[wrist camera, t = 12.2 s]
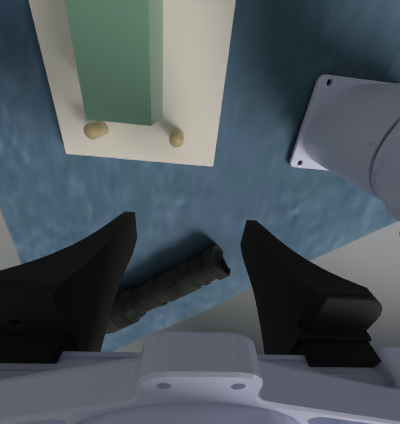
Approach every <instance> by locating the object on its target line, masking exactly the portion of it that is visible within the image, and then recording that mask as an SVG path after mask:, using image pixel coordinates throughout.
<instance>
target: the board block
mask: <svg viewBox="0 0 400 424" xmlns="http://www.w3.org/2000/svg"><path fill="white" fill-rule="evenodd" d="M65 5H66V11H67V16H68V22H69V28H70V33H71V39H72V44H73V50H74V55H75V61H76V67H77V72H78V78H79V83H80V89H81V95H82V100H83V106H84V111H85V117H86V119H87V120H97V121H107V122H117V123H127V124H136V125H146V126H152V125H153V124H154V123H156V122H157V121H158V120H160V119H161V118H162V117H163V0H65Z"/></svg>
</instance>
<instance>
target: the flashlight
mask: <svg viewBox="0 0 400 424" xmlns="http://www.w3.org/2000/svg"><path fill="white" fill-rule="evenodd" d="M228 276H230V269H229V268H228V266H227V264H226V262H225V260H224V258H223V251H222V250H221V248H220V247H219V246H217V245H214V246H212V247H210V248H208V249H207V250H206V251H205V253H204V254H202V255H200V256H195V257H193V259H192V260H191V261H188V260H187V261H185V262H183V263H181V264H179V265H177V266H175V267H173V268H171V269H170V270H168V271H166V272H164V273H162V274H161V275H160V276H159V277H154V278H152V279H151V280H150V281H149V282H148V283H146V284H144V285H142V286H140V287H134V288H127V289H124V290H122V291H121V292H118V293H116V297H115V300H114V303H113V306H112V310H111V313H110V317H109V320H108V324H107V328H106V332H105V334H110V333H114V332H116V331H118V330H121V329H123V328H125V327H127V326H129V325H131V324H133V323H135V322H137V321H139V319H140V318H141V317H143V316H144V315H145V314H146V312H147V311H149V310H151V309H154V308H156V307H158V306H163V305H166V304H167V303H168V301H170V302H172V301H174V300H177V299H179V298H181V297H183V296H185V295H187V294H189V293H191V292H193V291H196V290H198V289H200V288H201V286H202V285H205V286H206V285H208V284H210V283H211V281H213V280H215V279H219V280H221V279H223V278H226V277H228Z"/></svg>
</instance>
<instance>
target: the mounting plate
mask: <svg viewBox="0 0 400 424" xmlns="http://www.w3.org/2000/svg"><path fill="white" fill-rule="evenodd" d="M235 3H236V0H163V117H162V118H161V119H160V120H158V121H157V122H156V123H154V124H153V125H152V126H146V125H136V124H127V123H117V122H107V121H97V120H87V119H86V117H85V111H84V106H83V100H82V95H81V89H80V83H79V78H78V72H77V67H76V61H75V55H74V50H73V44H72V39H71V33H70V28H69V22H68V16H67V11H66V5H65V0H29V4H30V8H31V12H32V17H33V21H34V25H35V29H36V33H37V37H38V41H39V45H40V49H41V53H42V57H43V61H44V65H45V69H46V73H47V77H48V82H49V86H50V90H51V94H52V98H53V102H54V106H55V110H56V114H57V118H58V122H59V126H60V130H61V134H62V138H63V142H64V147H65V151H66V154H76V155H87V156H98V157H110V158H121V159H132V160H143V161H155V162H166V163H177V164H189V165H200V166H211V167H213V163H214V156H215V149H216V142H217V134H218V127H219V120H220V112H221V105H222V98H223V90H224V83H225V76H226V68H227V61H228V54H229V46H230V39H231V32H232V25H233V17H234V10H235Z"/></svg>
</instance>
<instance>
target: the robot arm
mask: <svg viewBox="0 0 400 424" xmlns="http://www.w3.org/2000/svg"><path fill="white" fill-rule="evenodd" d="M329 79H330V84H329V85H328V86H327V81H328V80H329ZM299 161H301V163H300V164H298V162H299ZM289 164H290V165H291V166H292V167H298V168H309V169H320V170H329V171H331V172H333V173H335V174H336V175H338V176H340V177H342V178H343V179H345V180H347V181H349V182H350V183H352V184H354V185H356V186H357V187H359V188H361V189H363V190H364V191H366V192H368V193H370V194H371V195H373V196H375V197H377V198H379V199H380V200H382V201H383V202H384V203H385V205H386V213H387V214H389V215H390V216H392V217H394V218H395V219H397V220H398V221H400V83H388V82H380V81H373V80H365V79H357V78H350V77H342V76H334V75H321V76H320V77H319V78H318V79H317V81H316V84H315V87H314V90H313V93H312V96H311V99H310V102H309V105H308V108H307V111H306V114H305V117H304V120H303V122H302V125H301V128H300V131H299V134H298V137H297V140H296V143H295V146H294V149H293V152H292V155H291V158H290V161H289ZM136 240H137V232H136V219H135V212H124V213H122V214H121V215H119V216H118V217H117V218H115V219H114V220H112V221H111V222H110V223H108V224H107V225H105V226H104V227H102V228H101V229H99V230H98V231H96V232H95V233H93V234H91V235H90V236H88V237H86V238H85V239H83V240H81V241H79V242H77V243H75V244H73V245H71V246H69V247H67V248H64V249H62V250H60V251H57V252H55V253H53V254H50V255H48V256H45V257H42V258H40V259H37V260H34V261H31V262H28V263H25V264H21V265H18V266H14V267H11V268H8V269H4V270H1V271H0V424H400V347H379V348H375V349H373V348H372V346H371V345H370V343H369V342H368V341H371V337H370V336H369V334H368V333H367V331H366V330H367V329H368V328H369V327H370V326H371V325H372V324H373V323H374V322H375V321H376V320H377V319H378V317H379V316H380V315H381V311H382V306H381V304H380V303H379V301H378V300H377V299H376V298H375V297H374V296H373V295H372V293H371V292H370V291H369V290H368V289H367V288H366V287H363V286H360V285H358V284H356V283H353V282H351V281H348V280H345V279H343V278H341V277H339V276H337V275H335V274H332V273H330V272H328V271H326V270H324V269H322V268H320V267H319V266H317V265H315V264H313V263H311V262H310V261H308V260H306V259H305V258H303V257H302V256H300V255H299V254H297V253H295V252H294V251H293V250H291V249H290V248H289V247H287V246H286V245H285V244H283V243H282V242H281V241H279V240H278V239H277V238H276V237H275V236H273V235H272V234H271V233H270V232H269V231H268V230H267V229H265V228H264V227H263V226H262V225H261V224H260V223H258V222H257V221H255V220H247V221H246V225H245V229H244V233H243V236H242V240H241V251H242V256H243V260H244V263H245V266H246V269H247V272H248V275H249V278H250V282H251V285H252V288H253V291H254V295H255V300H256V305H257V310H258V315H259V321H260V326H261V333H262V339H263V345H264V353H265V355H257V354H256V351H255V346H254V342H253V341H251V340H250V339H248V338H247V337H246V336H244V335H240V334H235V333H211V332H209V333H208V332H173V331H171V332H163V333H157V334H155V335H154V336H151V337H150V338H148V339H147V340H146V342H145V344H144V346H143V349H142V353H135V352H133V353H132V352H101V348H102V343H103V339H104V336H105V332H106V328H107V324H108V320H109V317H110V313H111V310H112V306H113V303H114V300H115V297H116V293H117V290H118V287H119V284H120V282H121V279H122V277H123V275H124V272H125V270H126V268H127V265H128V263H129V261H130V258H131V256H132V254H133V251H134V248H135V244H136Z"/></svg>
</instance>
